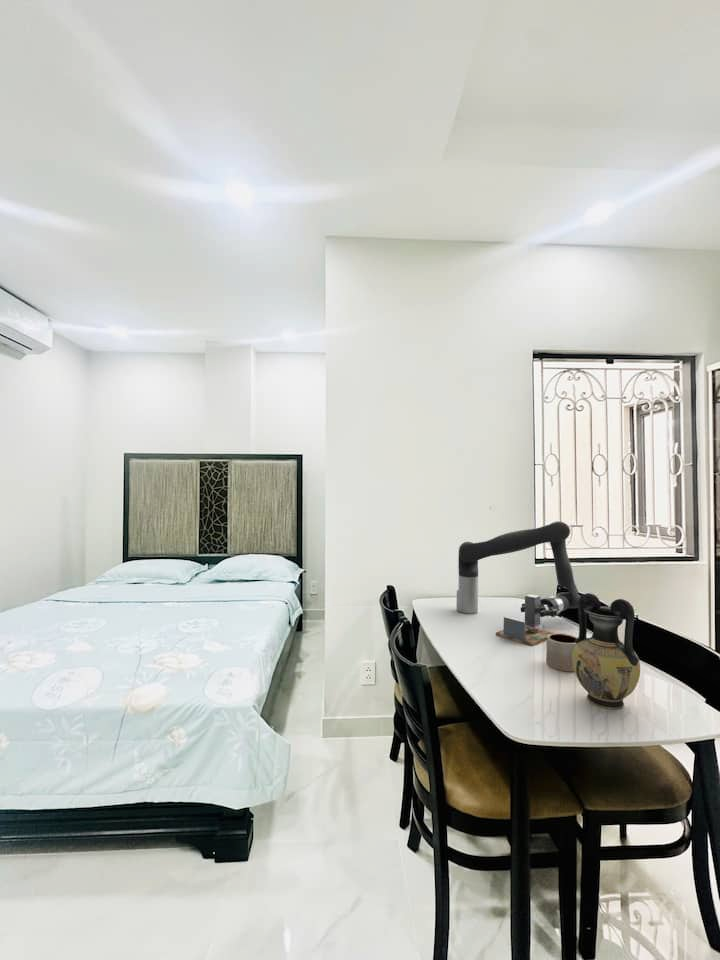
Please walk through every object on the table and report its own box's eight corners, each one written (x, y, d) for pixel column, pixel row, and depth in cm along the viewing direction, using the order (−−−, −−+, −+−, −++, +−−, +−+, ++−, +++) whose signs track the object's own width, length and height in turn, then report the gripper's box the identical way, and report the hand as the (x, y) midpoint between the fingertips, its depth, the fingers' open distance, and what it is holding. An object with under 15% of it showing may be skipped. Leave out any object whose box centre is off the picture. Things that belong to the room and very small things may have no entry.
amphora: (561, 700, 131) (562, 594, 132) (583, 683, 143) (584, 586, 144) (630, 724, 119) (631, 607, 119) (648, 703, 131) (649, 596, 131)
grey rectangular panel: (503, 634, 186) (503, 616, 186) (505, 633, 186) (505, 616, 187) (524, 640, 179) (524, 622, 179) (525, 639, 180) (525, 621, 180)
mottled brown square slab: (495, 635, 188) (496, 631, 188) (520, 626, 200) (520, 623, 200) (532, 646, 176) (532, 642, 176) (555, 636, 188) (555, 633, 188)
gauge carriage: (515, 631, 188) (515, 597, 189) (529, 626, 195) (529, 593, 196) (531, 636, 183) (532, 600, 183) (545, 631, 190) (546, 596, 190)
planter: (587, 673, 151) (587, 644, 151) (553, 672, 151) (553, 643, 151) (572, 660, 162) (572, 633, 162) (541, 660, 162) (541, 632, 162)
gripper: (535, 594, 206) (515, 599, 196) (567, 600, 196) (547, 606, 185) (535, 611, 206) (515, 617, 196) (566, 618, 196) (547, 625, 185)
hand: (531, 612), depth 191 cm, fingers open, 8 cm apart
